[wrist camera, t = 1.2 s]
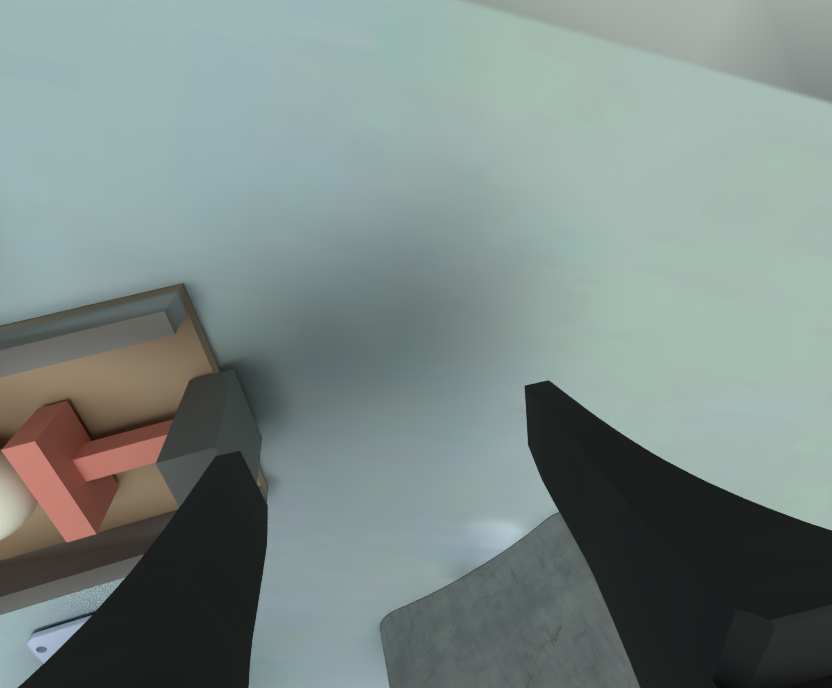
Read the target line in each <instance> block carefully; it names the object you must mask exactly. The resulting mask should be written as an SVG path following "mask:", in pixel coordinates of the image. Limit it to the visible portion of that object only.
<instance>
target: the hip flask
mask: <svg viewBox="0 0 832 688" xmlns="http://www.w3.org/2000/svg"><path fill="white" fill-rule="evenodd" d="M380 632H381V638H382V644H383V650H384V656H385V662H386V668H387V674H388V680H389V686H390V688H640V686H639V684H638V681H637V679H636V676H635V673H634V671H633V668H632V666H631V663H630V661H629V658H628V656H627V653H626V651H625V649H624V646H623V644H622V641H621V639H620V637H619V634H618V632H617V629H616V627H615V625H614V622H613V620H612V617H611V615H610V613H609V610H608V608H607V606H606V603H605V601H604V599H603V596H602V594H601V592H600V589H599V587H598V585H597V583H596V580H595V578H594V576H593V574H592V572H591V570H590V568H589V566H588V564H587V562H586V560H585V558H584V556H583V554H582V552H581V550H580V548H579V547H578V545H577V543H576V541H575V539H574V538H573V536H572V534H571V532H570V530H569V528H568V527H567V525H566V523H565V521H564V519H563V518H562V516H561V514H560V513H557V514H554V515H552V516H551V517H549V518H548V519H547V520H545V521H544V522H543V523H542V524H540V525H539V526H538V527H537V528H536V529H534V530H533V531H532V532H530V533H529V534H528V535H526V536H525V537H524V538H522V539H521V540H520V541H518V542H517V543H516V544H514V545H513V546H511V547H510V548H508V549H507V550H505V551H504V552H503V553H501V554H500V555H498V556H496V557H495V558H493V559H492V560H490V561H489V562H487V563H485V564H484V565H482V566H481V567H479V568H477V569H476V570H474V571H472V572H471V573H469V574H467V575H466V576H464V577H462V578H460V579H459V580H457V581H455V582H453V583H452V584H450V585H448V586H446V587H444V588H442V589H440V590H438V591H436V592H435V593H433V594H431V595H429V596H426V597H424V598H422V599H420V600H418V601H416V602H414V603H412V604H409V605H407V606H405V607H402V608H400V609H398V610H395V611H393V612H391V613H390V614H388V615H387V616H386V617H385V618H384V619H383V621H382V623H381V625H380Z"/></svg>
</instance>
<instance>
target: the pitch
mask: <svg viewBox="0 0 832 688" xmlns="http://www.w3.org/2000/svg"><path fill="white" fill-rule="evenodd" d="M219 372H220V371H219V368H218V366H217V363H216V361H215V358H214V356H213V354H212V351H211V349H210V346H209V344H208V342H207V339H206V337H205V334H204V332H203V330H202V327H201V325H200V322H199V320H198V318H197V315H196V313H195V310H194V308H193V306H192V303H191V301H190V298H189V296H188V294H187V291H186V289H185V286H184V284H178V285H174V286H170V287H166V288H161V289H157V290H153V291H148V292H144V293H140V294H136V295H131V296H127V297H123V298H118V299H114V300H110V301H106V302H101V303H97V304H93V305H88V306H84V307H80V308H76V309H71V310H67V311H63V312H59V313H54V314H50V315H46V316H41V317H37V318H33V319H29V320H24V321H20V322H16V323H11V324H7V325H3V326H0V449H2V448H3V447H4V446H5V445H6V444H7V443H8V442H9V441H10V439H11V438H12V437H13V436H14V435H15V434H16V433H17V431H18V430H19V429H20V428H21V427H22V426H23V425H24V424H25V422H26V421H27V420H28V419H29V418H30V417H31V416H32V415H33V413H34V412H35V411H36V410H37V409H38V408H41V407H45V406H49V405H52V404H56V403H60V402H64V401H68V402H69V404H70V406H71V407H72V409H73V411H74V412H75V414H76V416H77V417H78V419H79V421H80V422H81V424H82V426H83V427H84V429H85V431H86V432H87V434H88V436H89V437H90V439H91V441H94V440H98V439H101V438H105V437H109V436H113V435H116V434H120V433H124V432H128V431H131V430H135V429H139V428H143V427H146V426H150V425H154V424H158V423H161V422H165V421H169V420H173V419H174V417H175V414H176V412H177V409H178V407H179V404H180V402H181V399H182V397H183V394H184V392H185V389H186V387H187V385H188V382H189V380H192V379H196V378H200V377H203V376H207V375H211V374H215V373H219ZM112 476H113V478H114V479H115V481H116V483H117V484H118V486H119V488H118V490H117V492H116V494H115V496H114V498H113V501H112V503H111V505H110V507H109V509H108V511H107V513H106V515H105V517H104V519H103V522H102V524H101V526H100V528H99V530H98V532H97V534H95V535H91V536H88V537H85V538H81V539H78V540H74V541H71V542H66V541H65V539H64V538H63V536H62V535H61V534H60V532H59V531H58V529H57V528H56V527H55V525H54V524H53V522H52V521H51V520H50V518H49V517H48V515H47V514H46V513H45V511H44V510H43V508H42V507H41V506H40V504H39V503H37V505H36V508H35V509H34V511H33V513H32V514H31V516H30V517H29V519H28V520H27V521H26V522H25V523H24V524H23V525H22V526H21V527H20V528H19V529H18V530H16V531H15V532H14V533H12V534H11V535H9V536H8V537H6V538H4V539H2V540H0V615H1V614H5V613H8V612H11V611H15V610H18V609H21V608H25V607H28V606H31V605H34V604H38V603H41V602H44V601H48V600H51V599H54V598H58V597H61V596H64V595H68V594H71V593H74V592H78V591H81V590H84V589H87V588H91V587H94V586H97V585H101V584H104V583H107V582H111V581H114V580H117V579H121V578H124V577H127V575H128V574H129V573H130V572H131V571H132V569H133V568H134V567H135V566H136V564H137V563H138V562H139V560H140V559H141V558H142V557H143V555H144V554H145V553H146V551H147V550H148V549H149V548H150V546H151V545H152V544H153V543H154V541H155V540H156V539H157V537H158V536H159V535H160V534H161V532H162V531H163V530H164V528H165V527H166V526H167V524H168V523H169V521H170V520H171V519H172V517H173V516H174V514H175V513H176V512H177V510H178V509H179V506H178V504H177V502H176V500H175V499H174V497H173V495H172V493H171V491H170V489H169V487H168V486H167V484H166V482H165V480H164V478H163V476H162V474H161V473H160V471H159V469H158V467H157V465H156V463H152V464H149V465H145V466H141V467H138V468H134V469H130V470H127V471H123V472H120V473H116V474H112ZM257 485H258V487H259V489H260V491H261V493H262V495H263V497H264V499H265V501H266V503H267V493H268V486H267V484H266V481H265V479H264V476H263V474H262V472H261V469H260V467H259V469H258V479H257Z"/></svg>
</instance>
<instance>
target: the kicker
mask: <svg viewBox="0 0 832 688" xmlns="http://www.w3.org/2000/svg"><path fill="white" fill-rule="evenodd" d="M261 440H262V438H261V435H260V433H259V430H258V428H257V425H256V423H255V420H254V418H253V415H252V413H251V410H250V408H249V405H248V403H247V400H246V398H245V395H244V393H243V390H242V388H241V385H240V383H239V380H238V378H237V375H236V373H235V370H234V369H231V370H227V371H223V372H219V373H215V374H211V375H207V376H203V377H200V378H196V379H192V380H189V382H188V385H187V387H186V389H185V392H184V394H183V397H182V399H181V402H180V404H179V407H178V409H177V412H176V414H175V417H174V419H173V420H169V421H165V422H161V423H158V424H154V425H150V426H146V427H143V428H139V429H135V430H131V431H128V432H124V433H120V434H116V435H113V436H109V437H105V438H101V439H98V440H94V441H91V439H90V437H89V436H88V434H87V432H86V431H85V429H84V427H83V426H82V424H81V422H80V421H79V419H78V417H77V416H76V414H75V412H74V411H73V409H72V407H71V406H70V404H69V402H68V401H64V402H60V403H56V404H52V405H49V406H45V407H41V408H38V409H37V410H36V411H35V412H34V413H33V415H32V416H31V417H30V418H29V419H28V420H27V421H26V422H25V424H24V425H23V426H22V427H21V428H20V429H19V430H18V431H17V433H16V434H15V435H14V436H13V437H12V438H11V439H10V441H9V442H8V443H7V444H6V445H5V446H4V447H3V448H2V450H1V451H2V452H3V454H4V455H5V456H6V458H7V459H8V461H9V462H10V463H11V465H12V466H13V468H14V469H15V470H16V472H17V473H18V475H19V476H20V477H21V479H22V480H23V482H24V483H25V484H26V486H27V487H28V489H29V490H30V492H31V493H32V494H33V496H34V497H35V499H36V500H37V501H38V503H39V504H40V506H41V507H42V508H43V510H44V511H45V513H46V514H47V515H48V517H49V518H50V520H51V521H52V522H53V524H54V525H55V527H56V528H57V529H58V531H59V532H60V534H61V535H62V536H63V538H64V539H65V541H66V542H71V541H74V540H78V539H81V538H85V537H88V536H91V535H95V534H97V532H98V530H99V528H100V526H101V524H102V522H103V519H104V517H105V515H106V513H107V511H108V509H109V507H110V505H111V503H112V501H113V498H114V496H115V494H116V492H117V490H118V488H119V486H118V484H117V483H116V481H115V479H114V478H113V476H112V474H116V473H120V472H123V471H127V470H130V469H134V468H138V467H141V466H145V465H149V464H152V463H156V465H157V467H158V469H159V471H160V473H161V474H162V476H163V478H164V480H165V482H166V484H167V486H168V487H169V489H170V491H171V493H172V495H173V497H174V499H175V500H176V502H177V504H178V506H179V507H180V506H181V505H182V503H183V502H184V501H185V499H186V498H187V496H188V495H189V493H190V492H191V490H192V489H193V488H194V486H195V485H196V483H197V482H198V480H199V479H200V478H201V476H202V475H203V473H204V472H205V470H206V469H207V467H208V466H209V465H210V463H211V462H212V461H213V459H214V458H215V456H219V455H223V454H228V453H232V452H236V451H241V453H242V455H243V457H244V459H245V461H246V463H247V465H248V467H249V469H250V471H251V473H252V475H253V477H254V479H255V481H256V483H257V479H258V469H259V460H260V450H261Z"/></svg>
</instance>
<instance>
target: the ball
mask: <svg viewBox="0 0 832 688" xmlns="http://www.w3.org/2000/svg"><path fill="white" fill-rule="evenodd" d="M1 450H2V449H0V540H2V539H4V538H6V537H8V536H9V535H11V534H12V533H14V532H15V531H16V530H18V529H19V528H20V527H21V526H22V525H23V524H24V523H25V522H26V521H27V520H28V519H29V517H30V516H31V514H32V513H33V511H34V509H35V508H36V505H37V503H38V501H37V500H36V499H35V497H34V496H33V494H32V493H31V492H30V490H29V489H28V487H27V486H26V484H25V483H24V482H23V480H22V479H21V477H20V476H19V475H18V473H17V472H16V470H15V469H14V468H13V466H12V465H11V463H10V462H9V461H8V459H7V458H6V456H5V455H4V454H3V452H2V451H1Z"/></svg>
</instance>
